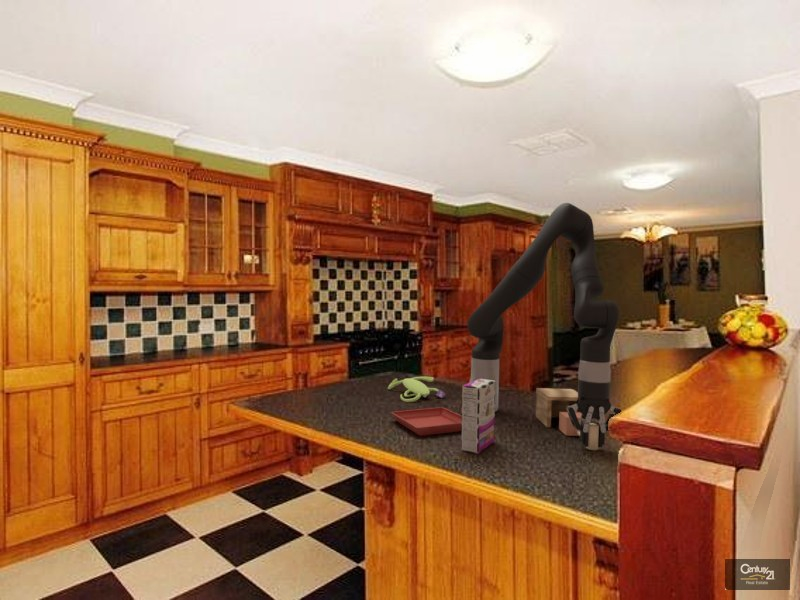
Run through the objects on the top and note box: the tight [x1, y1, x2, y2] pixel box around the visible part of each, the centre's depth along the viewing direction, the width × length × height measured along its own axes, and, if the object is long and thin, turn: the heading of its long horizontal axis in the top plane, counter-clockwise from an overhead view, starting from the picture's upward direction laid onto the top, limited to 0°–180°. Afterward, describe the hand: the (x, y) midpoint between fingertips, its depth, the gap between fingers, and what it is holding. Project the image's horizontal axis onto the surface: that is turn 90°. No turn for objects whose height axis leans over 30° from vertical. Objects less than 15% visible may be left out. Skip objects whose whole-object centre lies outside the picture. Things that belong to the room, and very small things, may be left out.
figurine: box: [387, 376, 446, 403], centre depth 180 cm, size 18×27×6 cm
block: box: [558, 412, 599, 451], centre depth 127 cm, size 6×18×6 cm, turn 179°
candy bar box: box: [460, 379, 496, 455], centre depth 120 cm, size 11×5×16 cm, turn 148°
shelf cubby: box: [534, 387, 581, 428], centre depth 145 cm, size 11×12×9 cm
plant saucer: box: [391, 407, 462, 437], centre depth 137 cm, size 18×18×3 cm
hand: (592, 445), depth 120 cm, fingers closed on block, 3 cm apart
